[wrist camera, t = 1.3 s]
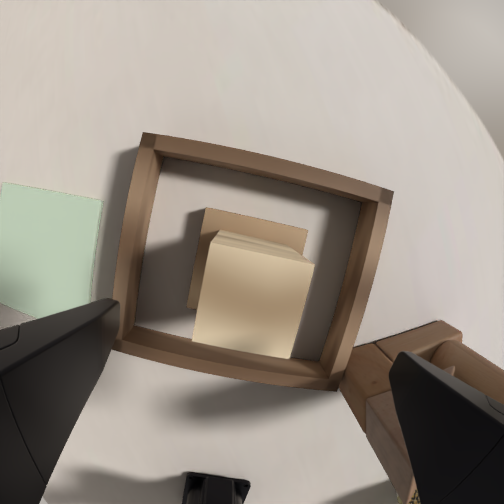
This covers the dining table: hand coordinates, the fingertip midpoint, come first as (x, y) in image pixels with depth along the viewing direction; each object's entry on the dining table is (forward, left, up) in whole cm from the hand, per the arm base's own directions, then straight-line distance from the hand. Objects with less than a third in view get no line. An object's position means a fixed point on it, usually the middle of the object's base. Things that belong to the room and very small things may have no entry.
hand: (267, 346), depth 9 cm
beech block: (0, 0, -13) cm, 13 cm away
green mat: (-3, +17, -14) cm, 22 cm away
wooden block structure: (-5, -14, -14) cm, 21 cm away
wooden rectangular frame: (0, 0, -14) cm, 14 cm away
